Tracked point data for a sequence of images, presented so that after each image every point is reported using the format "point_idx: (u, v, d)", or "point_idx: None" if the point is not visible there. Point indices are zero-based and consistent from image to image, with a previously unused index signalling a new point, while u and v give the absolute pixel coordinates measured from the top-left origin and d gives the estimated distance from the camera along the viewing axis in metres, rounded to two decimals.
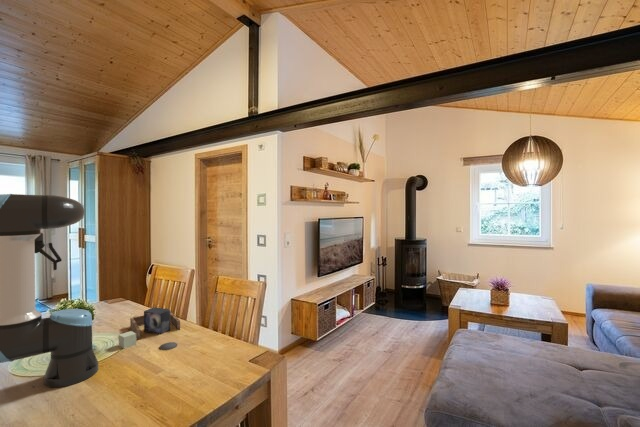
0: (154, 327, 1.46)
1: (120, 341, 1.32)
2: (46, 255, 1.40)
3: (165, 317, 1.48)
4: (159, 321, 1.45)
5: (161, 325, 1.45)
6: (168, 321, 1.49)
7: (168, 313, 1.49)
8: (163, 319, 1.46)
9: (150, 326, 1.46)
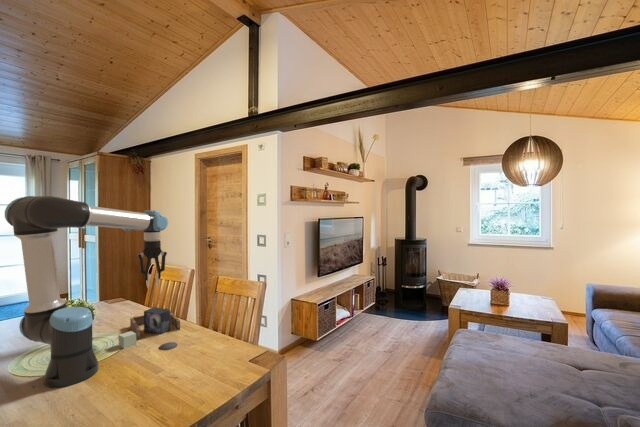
0: (154, 327, 1.46)
1: (120, 341, 1.32)
2: (157, 263, 1.56)
3: (165, 317, 1.48)
4: (159, 321, 1.45)
5: (161, 325, 1.45)
6: (168, 321, 1.49)
7: (168, 313, 1.49)
8: (163, 319, 1.46)
9: (150, 326, 1.46)
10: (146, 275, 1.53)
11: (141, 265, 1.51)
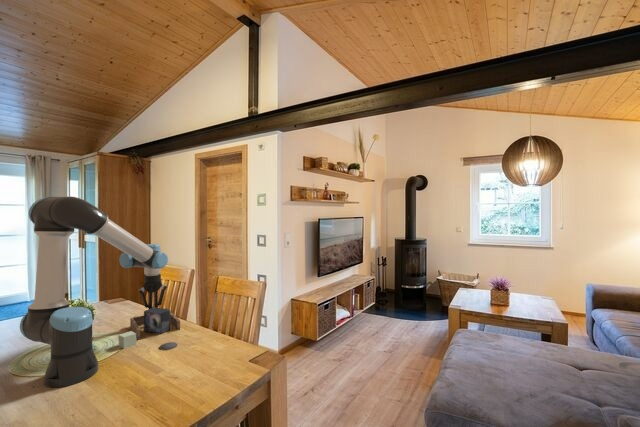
0: (154, 327, 1.46)
1: (120, 341, 1.32)
2: (156, 297, 1.56)
3: (165, 317, 1.48)
4: (159, 321, 1.45)
5: (161, 325, 1.45)
6: (168, 321, 1.49)
7: (168, 313, 1.49)
8: (163, 319, 1.46)
9: (150, 326, 1.46)
10: None
11: (144, 300, 1.52)
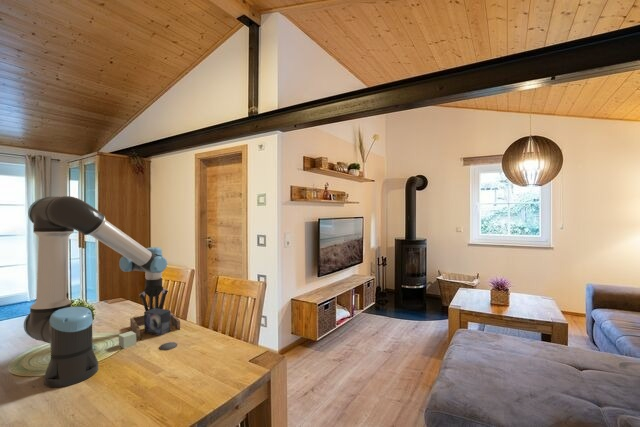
0: (154, 328, 1.44)
1: (120, 341, 1.32)
2: (157, 301, 1.53)
3: (165, 318, 1.46)
4: (159, 322, 1.43)
5: (161, 326, 1.44)
6: (168, 322, 1.48)
7: (168, 314, 1.48)
8: (163, 320, 1.45)
9: (150, 327, 1.45)
10: None
11: (145, 304, 1.50)
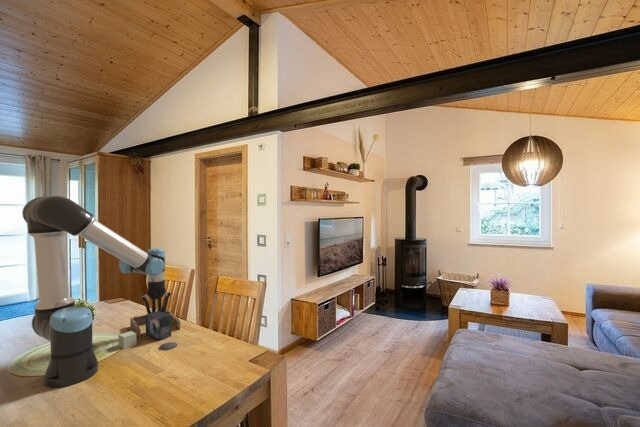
0: (154, 333, 1.39)
1: (120, 341, 1.32)
2: (159, 304, 1.49)
3: (165, 322, 1.40)
4: (158, 326, 1.38)
5: (160, 331, 1.38)
6: (169, 327, 1.42)
7: (169, 318, 1.42)
8: (162, 324, 1.39)
9: (150, 331, 1.40)
10: None
11: (147, 307, 1.45)
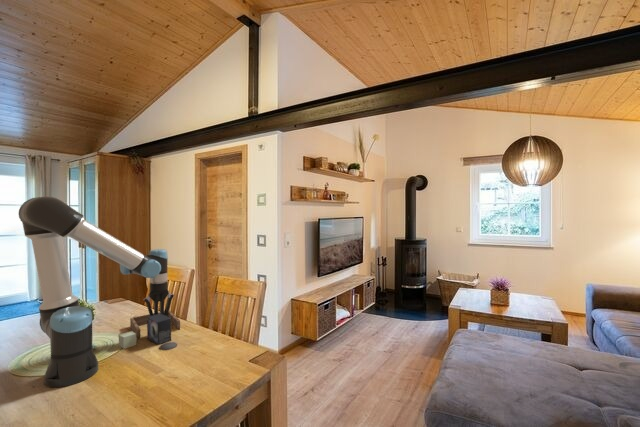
0: (153, 336, 1.35)
1: (120, 341, 1.32)
2: (162, 306, 1.45)
3: (164, 326, 1.36)
4: (156, 330, 1.34)
5: (158, 335, 1.34)
6: (168, 331, 1.37)
7: (168, 322, 1.37)
8: (161, 328, 1.34)
9: (151, 335, 1.37)
10: None
11: (150, 310, 1.42)
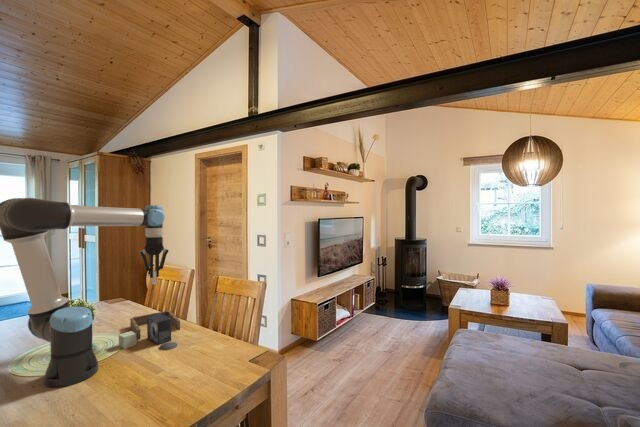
0: (153, 337, 1.35)
1: (120, 341, 1.32)
2: (157, 260, 1.50)
3: (164, 326, 1.36)
4: (156, 330, 1.34)
5: (158, 335, 1.34)
6: (168, 331, 1.37)
7: (168, 322, 1.37)
8: (161, 328, 1.34)
9: (151, 335, 1.37)
10: (151, 272, 1.49)
11: (145, 262, 1.47)
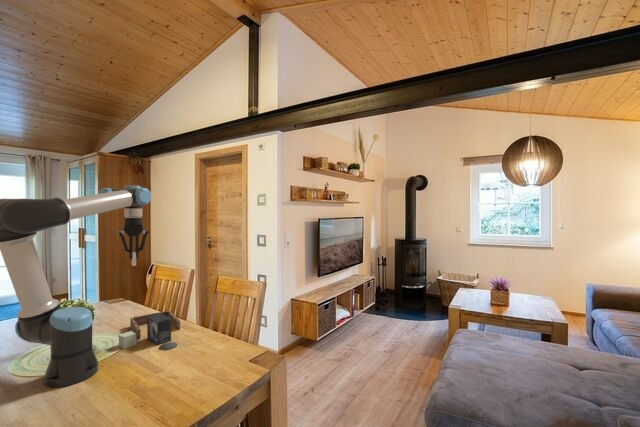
0: (153, 337, 1.35)
1: (120, 341, 1.32)
2: (137, 241, 1.48)
3: (164, 326, 1.36)
4: (156, 330, 1.34)
5: (158, 335, 1.34)
6: (168, 331, 1.37)
7: (168, 322, 1.37)
8: (161, 328, 1.34)
9: (151, 335, 1.37)
10: (131, 253, 1.47)
11: (124, 243, 1.45)
